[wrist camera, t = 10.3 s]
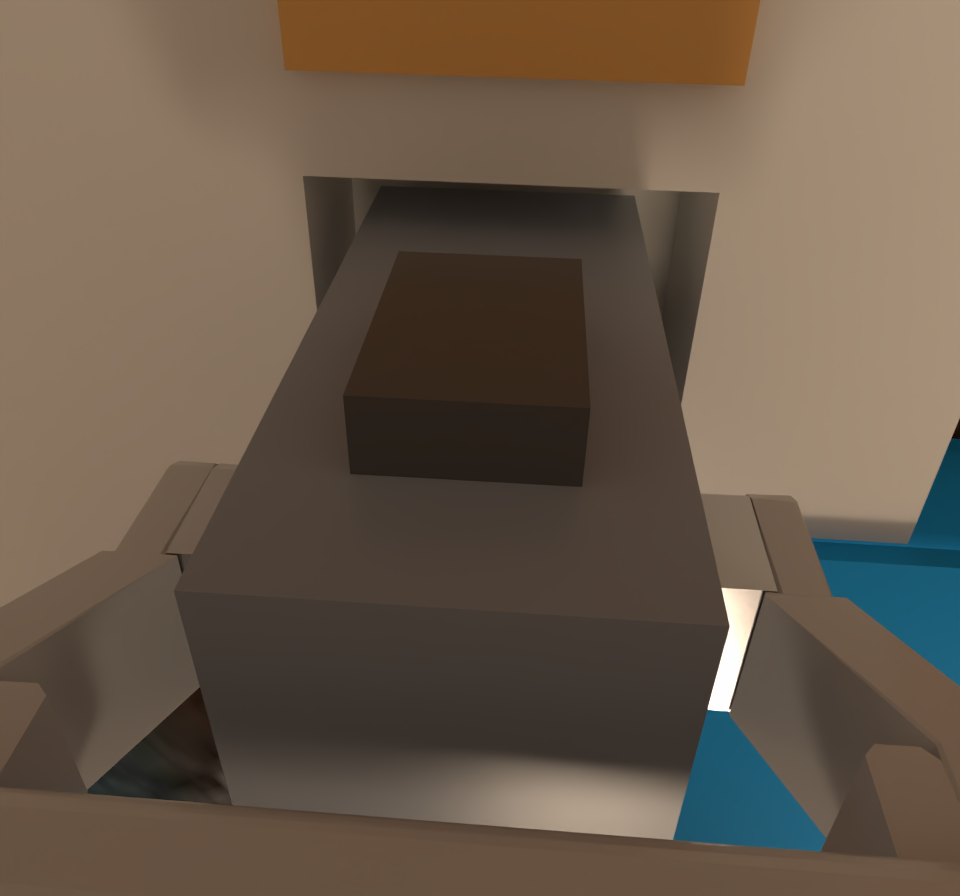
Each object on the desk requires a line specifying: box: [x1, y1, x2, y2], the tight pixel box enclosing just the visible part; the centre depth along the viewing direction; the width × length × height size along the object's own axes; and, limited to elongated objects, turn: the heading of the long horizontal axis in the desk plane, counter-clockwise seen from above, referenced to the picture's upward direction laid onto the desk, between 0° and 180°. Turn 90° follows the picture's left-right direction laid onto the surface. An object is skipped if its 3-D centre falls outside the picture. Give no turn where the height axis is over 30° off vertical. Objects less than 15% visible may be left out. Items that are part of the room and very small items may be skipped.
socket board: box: [0, 0, 960, 608], centre depth 15 cm, size 16×28×4 cm, turn 89°
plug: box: [174, 186, 730, 840], centre depth 11 cm, size 5×4×9 cm
